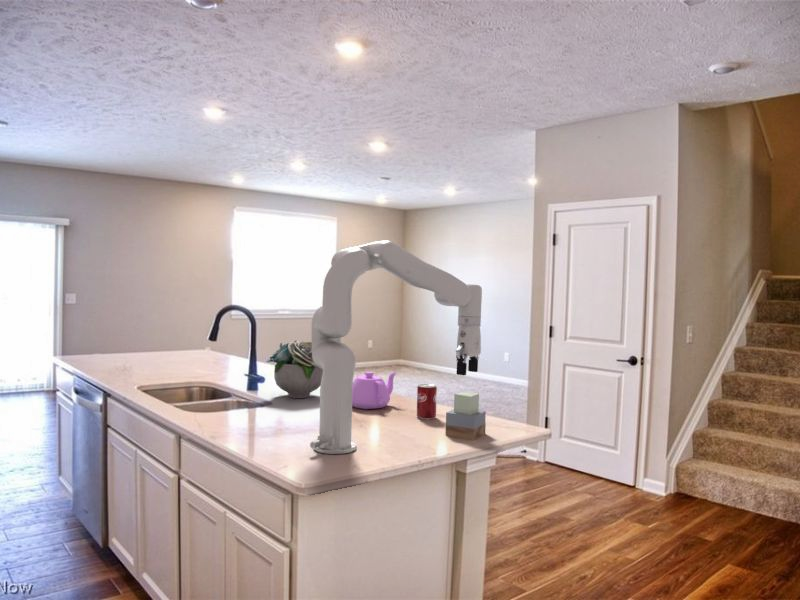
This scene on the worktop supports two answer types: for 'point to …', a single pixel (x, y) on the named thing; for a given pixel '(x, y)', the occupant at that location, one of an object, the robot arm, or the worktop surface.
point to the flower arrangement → (296, 369)
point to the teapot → (371, 391)
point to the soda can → (426, 401)
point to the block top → (465, 419)
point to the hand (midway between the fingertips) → (467, 373)
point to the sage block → (466, 403)
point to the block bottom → (465, 432)
